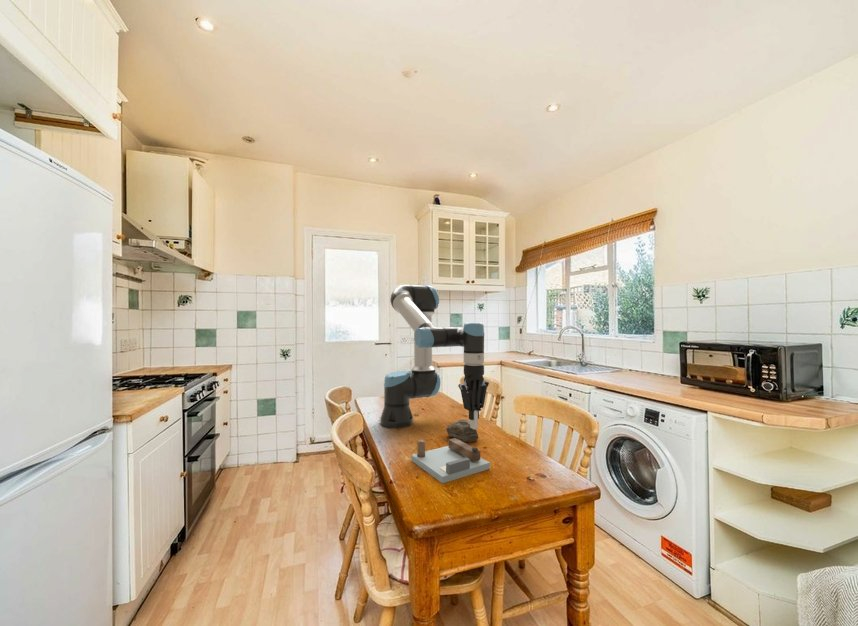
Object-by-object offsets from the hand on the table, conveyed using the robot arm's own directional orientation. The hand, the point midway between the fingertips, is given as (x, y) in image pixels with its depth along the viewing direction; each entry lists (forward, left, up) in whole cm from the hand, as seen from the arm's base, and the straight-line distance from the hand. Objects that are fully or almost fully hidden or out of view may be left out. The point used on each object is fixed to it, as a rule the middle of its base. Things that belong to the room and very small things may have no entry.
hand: (473, 428), depth 128 cm
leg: (+4, -8, -6) cm, 11 cm away
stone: (-14, +5, -9) cm, 18 cm away
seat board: (+4, -14, -9) cm, 17 cm away
